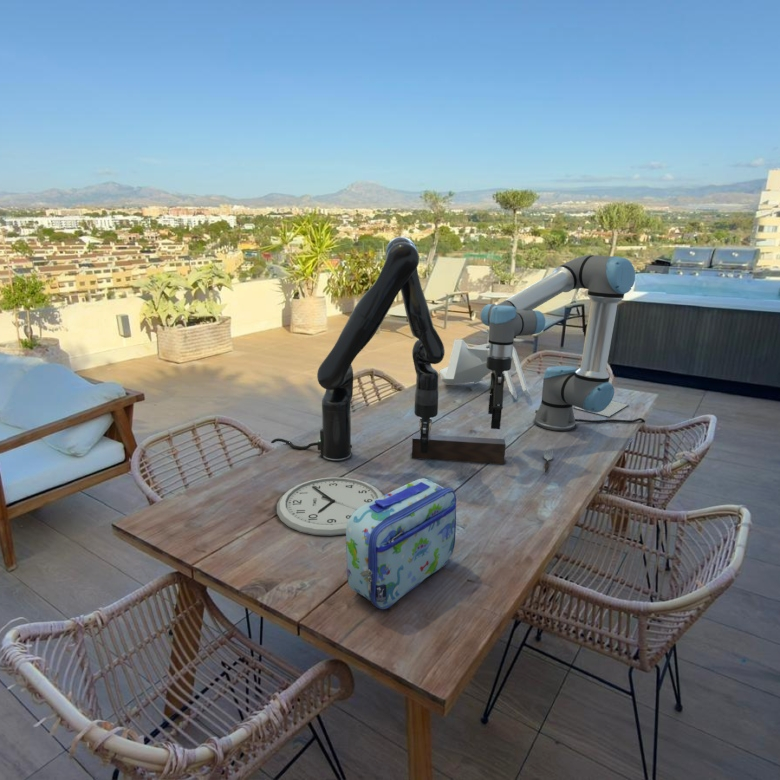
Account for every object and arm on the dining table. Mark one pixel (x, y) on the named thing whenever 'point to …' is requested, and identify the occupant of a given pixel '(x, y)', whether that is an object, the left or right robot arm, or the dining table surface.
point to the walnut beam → (460, 449)
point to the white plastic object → (476, 366)
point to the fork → (547, 459)
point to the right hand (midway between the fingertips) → (493, 420)
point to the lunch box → (400, 540)
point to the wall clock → (324, 504)
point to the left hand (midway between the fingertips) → (424, 449)
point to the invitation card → (609, 408)
